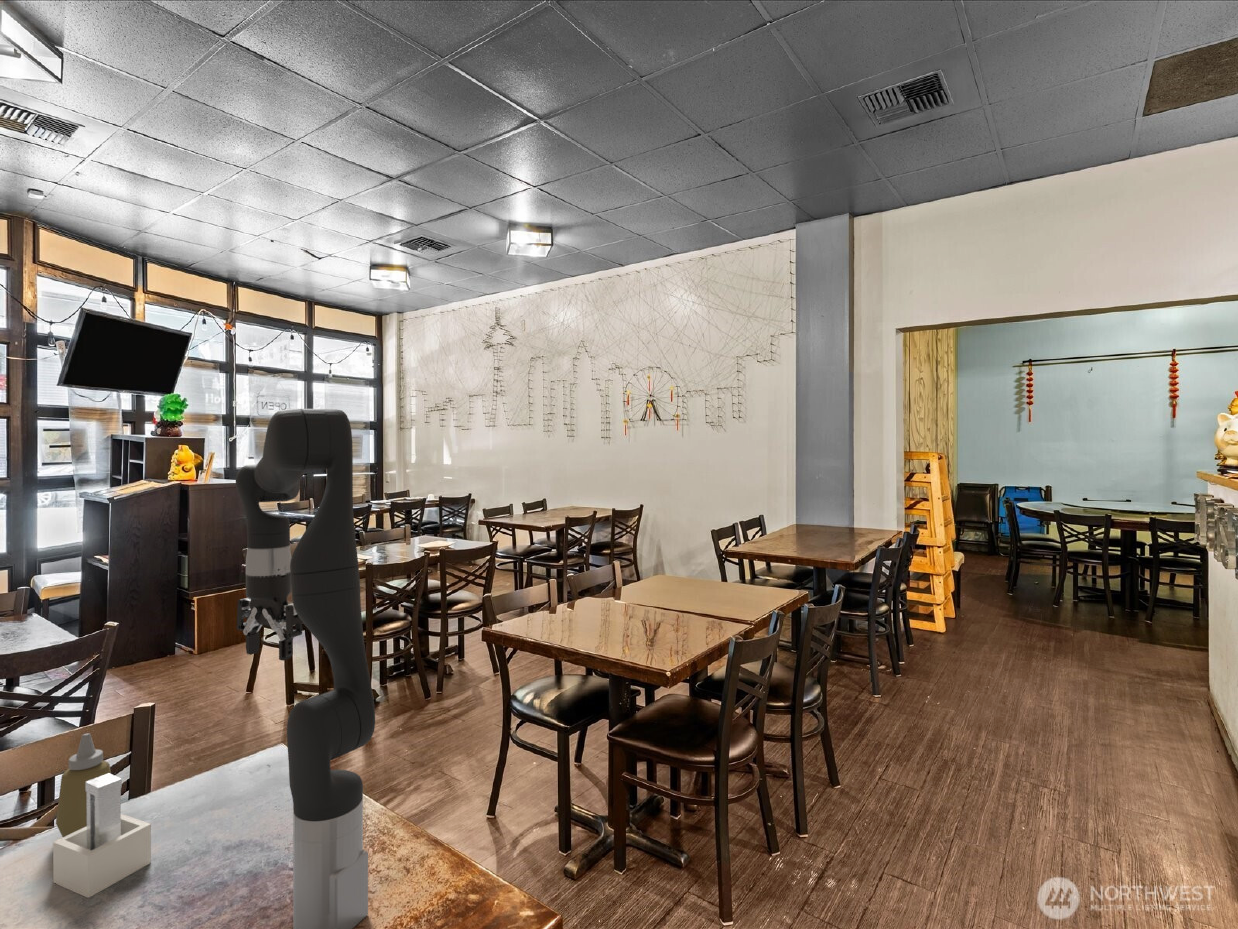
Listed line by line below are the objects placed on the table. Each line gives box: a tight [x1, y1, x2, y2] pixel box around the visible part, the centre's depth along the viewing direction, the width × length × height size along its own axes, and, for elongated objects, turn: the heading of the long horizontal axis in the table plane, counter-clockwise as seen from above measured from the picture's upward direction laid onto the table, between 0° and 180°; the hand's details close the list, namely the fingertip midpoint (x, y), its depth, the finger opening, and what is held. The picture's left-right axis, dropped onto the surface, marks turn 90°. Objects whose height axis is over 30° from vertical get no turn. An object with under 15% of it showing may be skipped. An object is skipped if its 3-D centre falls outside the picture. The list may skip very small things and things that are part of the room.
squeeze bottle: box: [55, 733, 112, 838], centre depth 111 cm, size 8×8×18 cm
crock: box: [52, 813, 152, 899], centre depth 102 cm, size 9×9×6 cm
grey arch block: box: [85, 773, 123, 850], centre depth 102 cm, size 4×3×14 cm
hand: (269, 656), depth 118 cm, fingers open, 8 cm apart
